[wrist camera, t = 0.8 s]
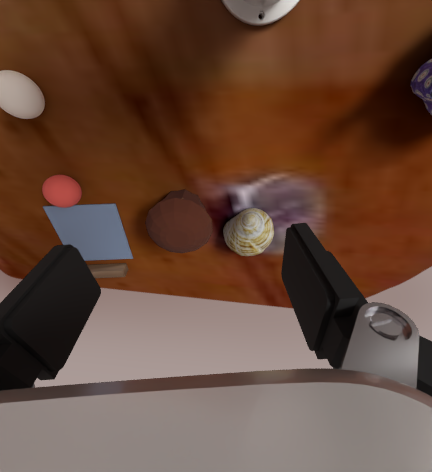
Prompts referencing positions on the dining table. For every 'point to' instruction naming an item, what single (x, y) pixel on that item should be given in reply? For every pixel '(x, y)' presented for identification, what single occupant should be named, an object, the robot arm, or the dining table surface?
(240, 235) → the seashell
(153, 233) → the muffin
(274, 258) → the dining table surface
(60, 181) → the red ball
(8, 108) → the cue ball
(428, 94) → the teapot
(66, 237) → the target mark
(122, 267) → the stopper wall
